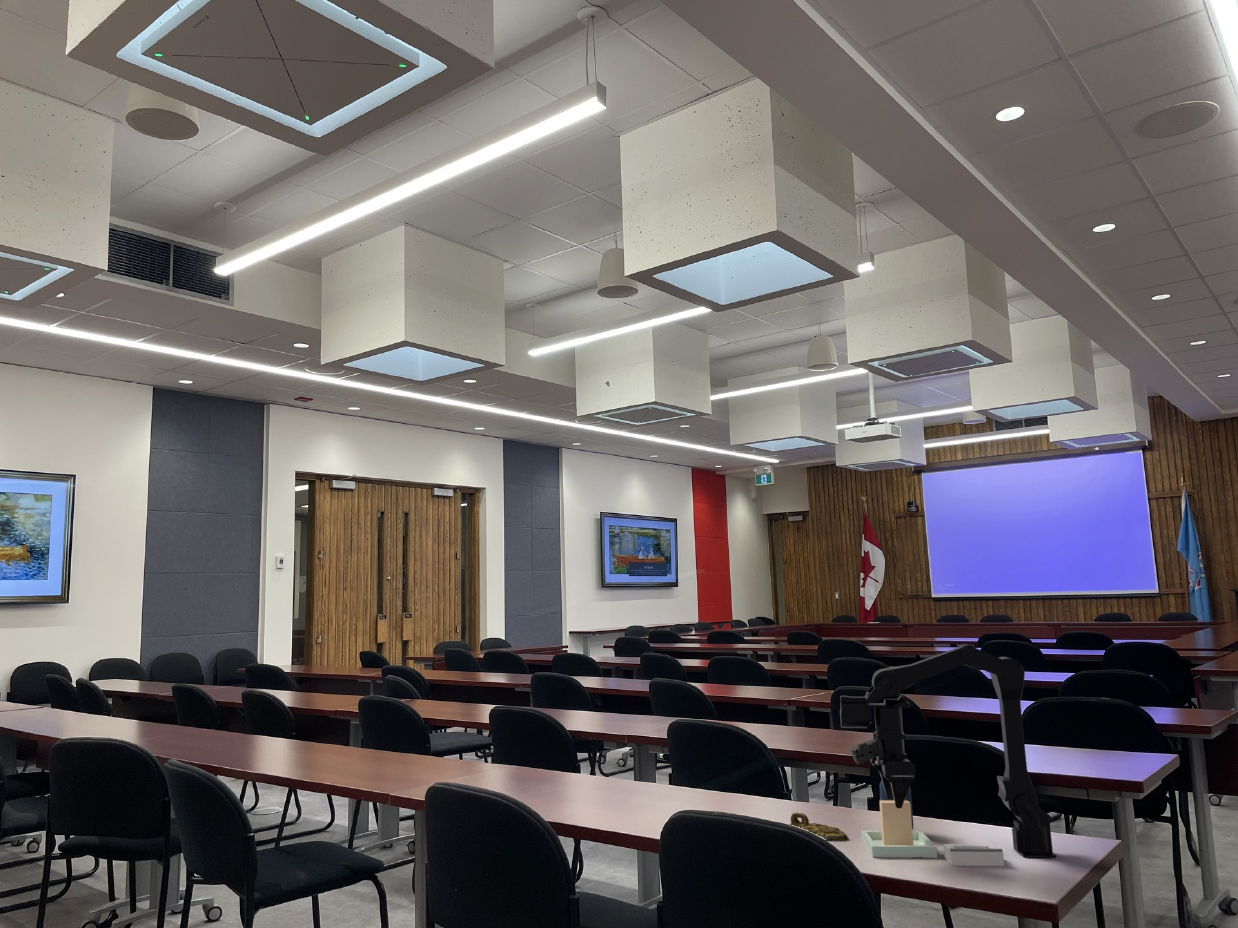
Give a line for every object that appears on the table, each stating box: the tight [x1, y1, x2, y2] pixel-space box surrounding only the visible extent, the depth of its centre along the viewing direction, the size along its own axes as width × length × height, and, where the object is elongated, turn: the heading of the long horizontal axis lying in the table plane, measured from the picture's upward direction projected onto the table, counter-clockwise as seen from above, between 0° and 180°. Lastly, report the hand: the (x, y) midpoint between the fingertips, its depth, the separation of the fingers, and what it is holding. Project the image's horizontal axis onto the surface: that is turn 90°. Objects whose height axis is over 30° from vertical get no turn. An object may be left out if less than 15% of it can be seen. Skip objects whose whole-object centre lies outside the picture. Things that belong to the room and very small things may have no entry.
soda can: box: [879, 779, 915, 831], centre depth 199 cm, size 7×7×12 cm
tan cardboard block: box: [878, 799, 913, 845], centre depth 185 cm, size 6×2×9 cm, turn 84°
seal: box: [789, 812, 848, 842], centre depth 198 cm, size 9×5×15 cm
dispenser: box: [942, 843, 1005, 867], centre depth 174 cm, size 10×6×3 cm, turn 84°
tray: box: [860, 830, 938, 859], centre depth 184 cm, size 13×13×2 cm
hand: (894, 803), depth 186 cm, fingers open, 9 cm apart
